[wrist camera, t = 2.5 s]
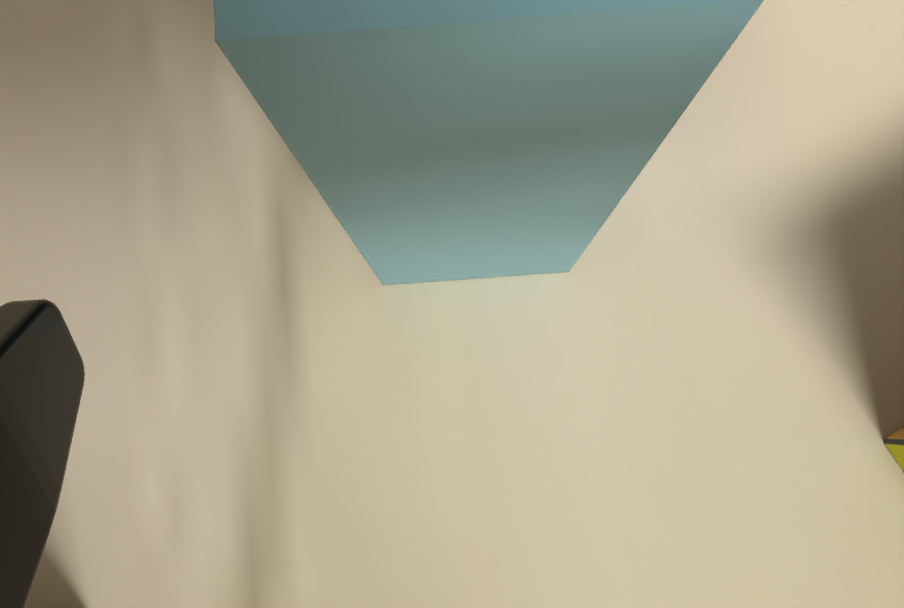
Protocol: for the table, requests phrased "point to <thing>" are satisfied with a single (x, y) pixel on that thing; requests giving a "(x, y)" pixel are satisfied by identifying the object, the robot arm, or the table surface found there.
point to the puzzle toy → (896, 446)
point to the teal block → (474, 116)
